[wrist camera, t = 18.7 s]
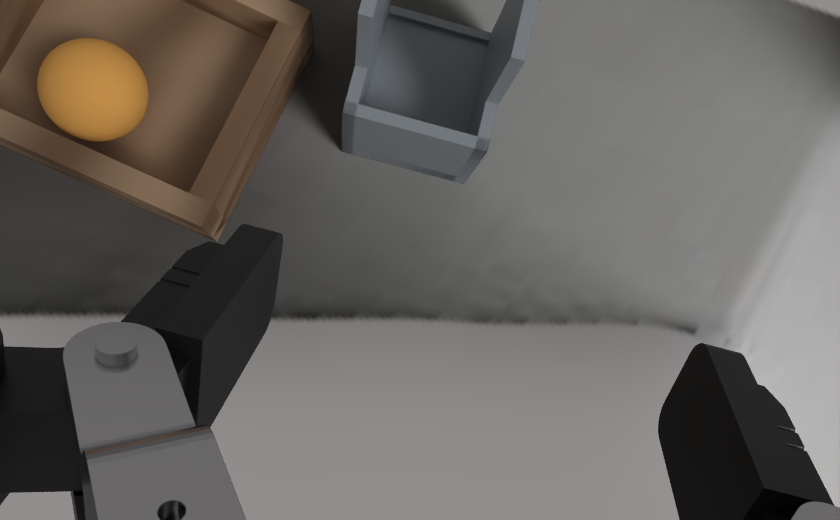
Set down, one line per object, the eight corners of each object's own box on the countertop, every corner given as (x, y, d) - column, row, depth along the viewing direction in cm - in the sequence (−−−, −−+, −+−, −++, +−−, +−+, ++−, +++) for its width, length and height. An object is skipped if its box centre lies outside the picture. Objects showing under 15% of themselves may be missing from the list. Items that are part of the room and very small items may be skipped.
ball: (123, 167, 27) (171, 123, 30) (105, 70, 24) (159, 33, 27) (28, 148, 27) (86, 106, 30) (0, 50, 24) (66, 16, 28)
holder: (463, 183, 31) (512, 115, 23) (341, 151, 31) (342, 68, 22) (496, 46, 33) (554, -70, 24) (378, 13, 32) (394, -118, 23)
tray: (314, 48, 32) (311, 10, 28) (216, 241, 30) (201, 226, 26) (72, -64, 31) (38, -117, 28) (-42, 126, 29) (-93, 95, 26)
